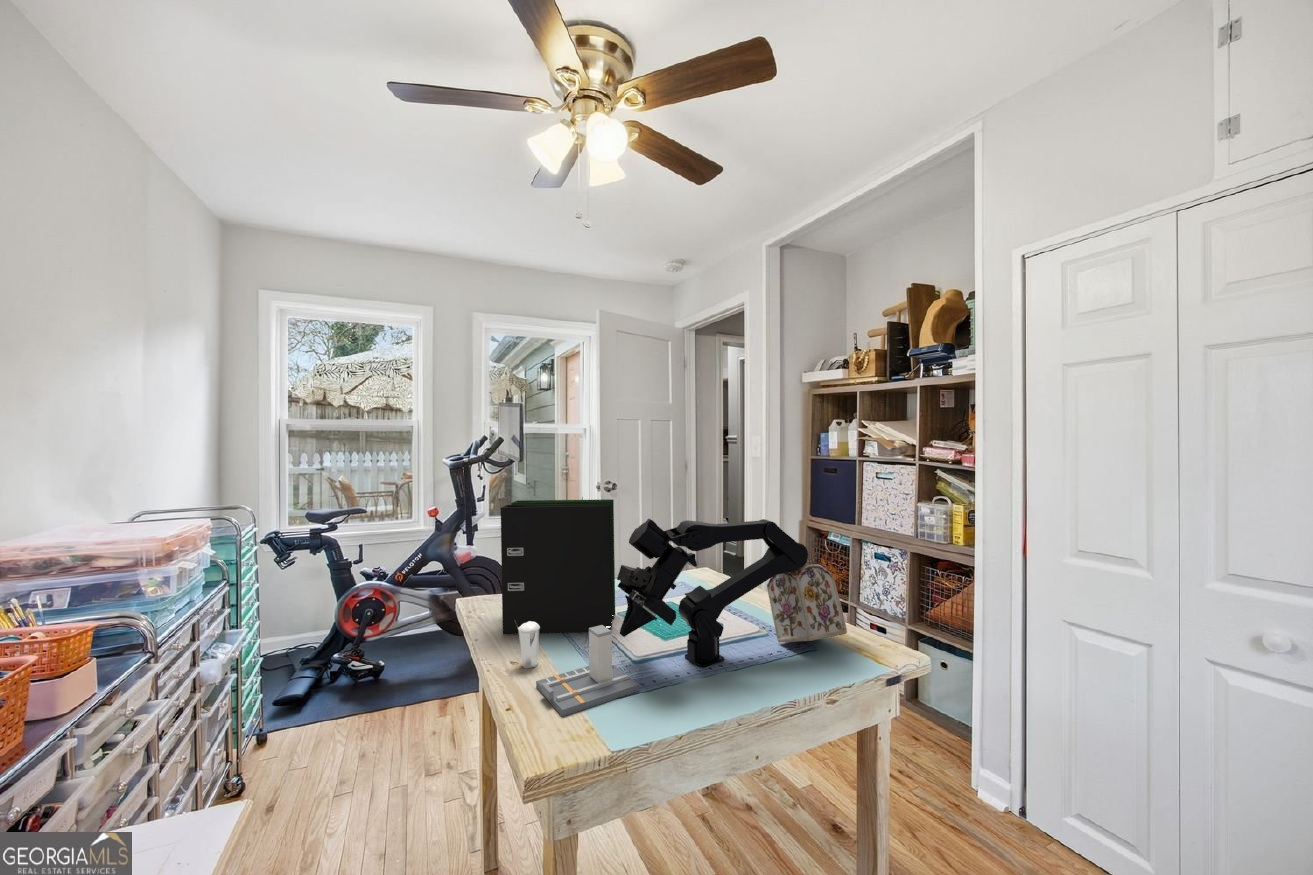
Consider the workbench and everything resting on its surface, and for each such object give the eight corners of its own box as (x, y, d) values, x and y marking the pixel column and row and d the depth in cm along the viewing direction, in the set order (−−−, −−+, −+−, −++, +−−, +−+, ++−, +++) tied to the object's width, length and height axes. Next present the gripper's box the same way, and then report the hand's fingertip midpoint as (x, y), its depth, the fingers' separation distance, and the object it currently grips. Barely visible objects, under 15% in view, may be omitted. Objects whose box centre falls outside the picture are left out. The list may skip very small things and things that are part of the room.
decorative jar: (849, 633, 116) (829, 553, 122) (811, 641, 110) (793, 557, 116) (812, 635, 126) (796, 561, 131) (776, 642, 120) (760, 564, 126)
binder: (615, 613, 142) (613, 499, 142) (610, 634, 128) (608, 506, 127) (518, 614, 143) (516, 500, 142) (501, 635, 128) (499, 508, 128)
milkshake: (517, 661, 113) (516, 616, 113) (541, 659, 114) (541, 614, 114) (513, 670, 109) (512, 623, 109) (538, 669, 109) (538, 622, 109)
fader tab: (602, 671, 104) (602, 624, 104) (612, 679, 101) (611, 630, 101) (589, 675, 103) (588, 628, 103) (598, 683, 99) (597, 634, 99)
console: (607, 665, 110) (607, 653, 110) (639, 690, 99) (639, 676, 99) (533, 687, 101) (533, 674, 101) (559, 717, 90) (559, 702, 90)
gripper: (622, 542, 116) (579, 601, 111) (657, 559, 99) (608, 629, 94) (656, 570, 119) (616, 628, 115) (695, 590, 102) (650, 660, 98)
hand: (621, 635), depth 105 cm, fingers closed
